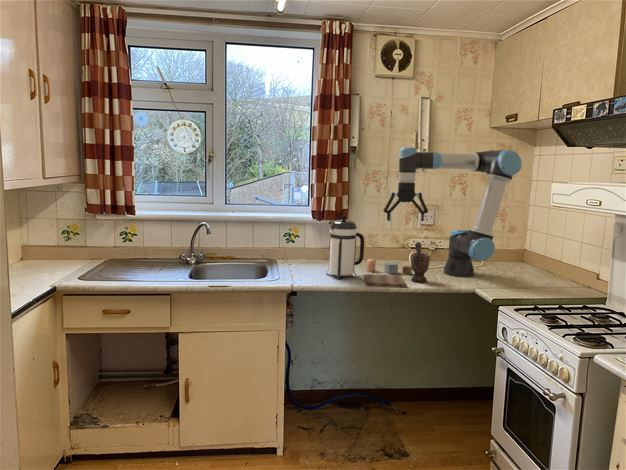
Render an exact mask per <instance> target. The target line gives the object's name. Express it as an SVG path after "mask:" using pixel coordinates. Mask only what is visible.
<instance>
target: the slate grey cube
mask: <svg viewBox="0 0 626 470" xmlns="http://www.w3.org/2000/svg"><path fill="white" fill-rule="evenodd" d="M398 269H399V264H398V263H396V262H393V261H392V262H384V269H383V271H384V273H386V275H398V274H399V272H398Z"/></svg>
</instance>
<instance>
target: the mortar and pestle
mask: <svg viewBox="0 0 626 470" xmlns="http://www.w3.org/2000/svg"><path fill="white" fill-rule="evenodd" d="M422 248H423V245H422V243H421V242H420V241H416V242H415V251H416V252H413V253H411V255H410V256H411V257H410V258H411V259H410V266H412V272H414V275H413V276H412V277H411V278H410V281H413V282H414V283H419V284H424V283H427V281H428V279H427V277H426V276H425V273H427V271H428V270H429V267H430V261H431V254H430V253H424V252H422V251H423V250H422Z"/></svg>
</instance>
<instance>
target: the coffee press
mask: <svg viewBox="0 0 626 470" xmlns="http://www.w3.org/2000/svg"><path fill="white" fill-rule="evenodd" d="M347 218H348V217H347V215H344V214H343V215H342V216H341V219H335V220H333V221H332V222H331V224H330V225H329V226H330V228H329V233H330V234H329V236H330V237H329V238H330V239H329V257H328V260H329V261H328V270H327V271H326V273H325V274H326V275H327V276H329V275H330V274H332V275H335V276H337V277H336V280H338V281H339V280H340V279H341V277H344V276H352V277H353V278H354V279H355V278H357V273H356V272H355V270H356V269H355V266H358V265H360V264H361V263H362V261H363V259H364V256H365V255H364V253H365V238H364V237H365V236H364V235H363V234H362V233H360V232H357V229H358V226H357V223H355V221H352V220H349V219H347ZM357 237H358V239H359V241H360V243H359V244H360V245H359V257H358V259H357V260H356V247H357ZM328 272H329V273H328ZM353 274H354V275H355V276H354V275H353Z"/></svg>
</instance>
